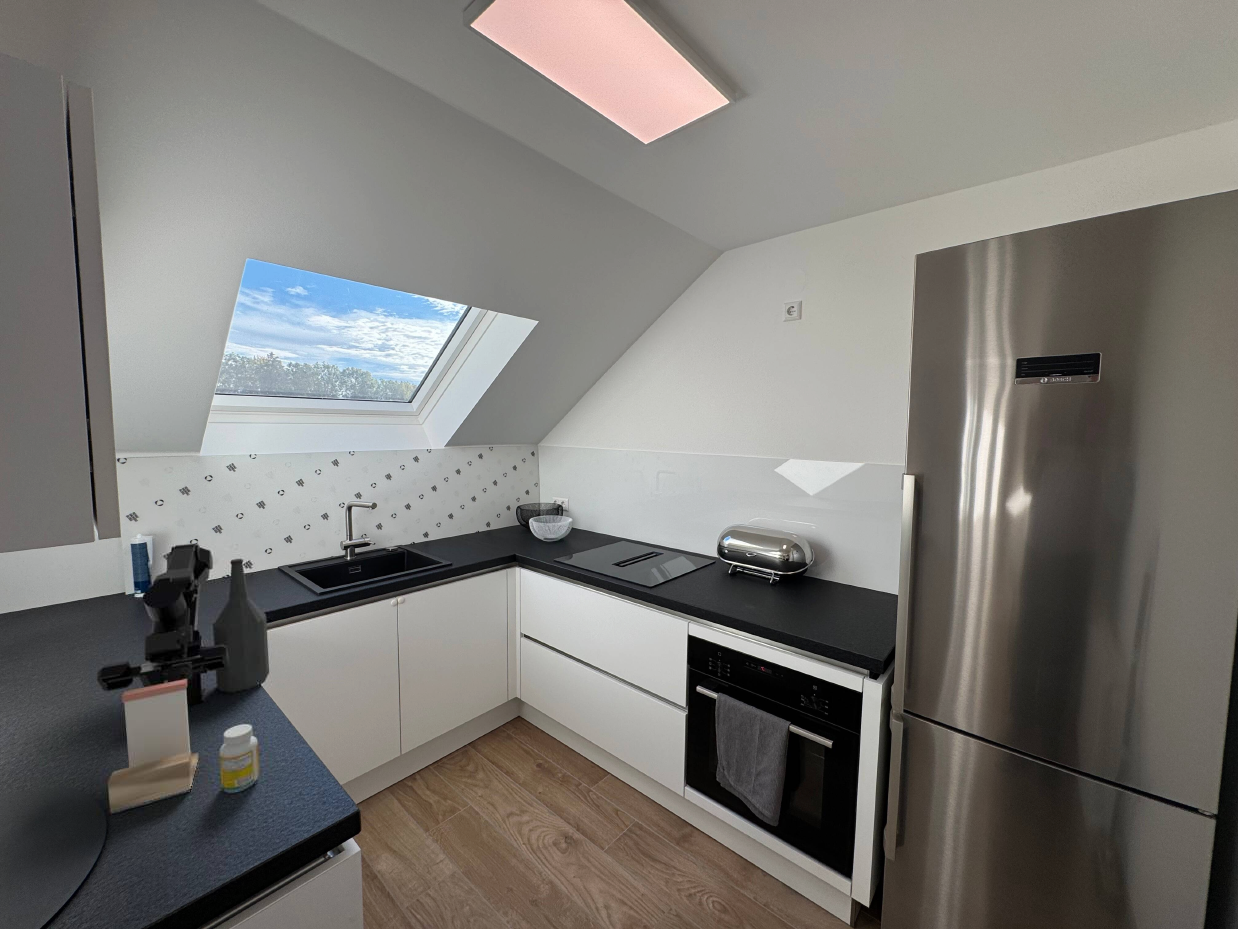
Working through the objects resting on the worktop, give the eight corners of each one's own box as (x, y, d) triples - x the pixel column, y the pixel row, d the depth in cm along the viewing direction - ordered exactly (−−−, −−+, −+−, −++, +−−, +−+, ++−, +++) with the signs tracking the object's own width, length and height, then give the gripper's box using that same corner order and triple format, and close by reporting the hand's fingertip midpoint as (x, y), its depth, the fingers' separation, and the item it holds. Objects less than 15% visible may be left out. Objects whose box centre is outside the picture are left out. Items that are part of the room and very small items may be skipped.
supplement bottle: (245, 795, 89) (242, 740, 88) (213, 794, 89) (209, 740, 88) (266, 773, 95) (263, 721, 94) (236, 773, 95) (233, 721, 94)
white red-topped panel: (130, 770, 93) (124, 691, 92) (192, 754, 97) (186, 678, 96) (128, 775, 91) (121, 695, 90) (190, 759, 96) (185, 683, 95)
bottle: (228, 697, 121) (221, 567, 118) (209, 686, 126) (201, 561, 123) (277, 679, 129) (271, 557, 127) (257, 669, 134) (250, 552, 132)
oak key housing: (126, 779, 93) (123, 749, 93) (198, 760, 98) (196, 731, 98) (110, 815, 85) (107, 782, 84) (190, 792, 90) (188, 760, 89)
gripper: (95, 623, 96) (81, 709, 88) (224, 604, 106) (222, 680, 98) (110, 650, 104) (98, 732, 95) (229, 630, 114) (228, 703, 105)
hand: (163, 711), depth 98 cm, fingers closed
